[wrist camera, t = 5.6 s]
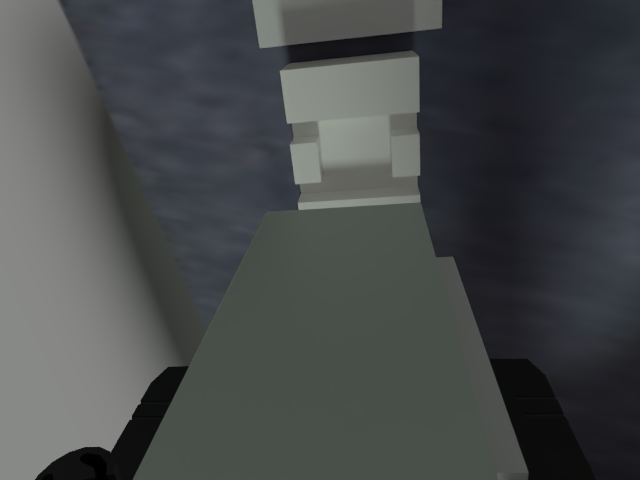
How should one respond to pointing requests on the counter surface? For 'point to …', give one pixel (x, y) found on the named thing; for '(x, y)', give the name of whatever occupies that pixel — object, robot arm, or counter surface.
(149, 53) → the counter surface
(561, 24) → the counter surface
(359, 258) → the block
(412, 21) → the mat
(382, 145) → the power strip
